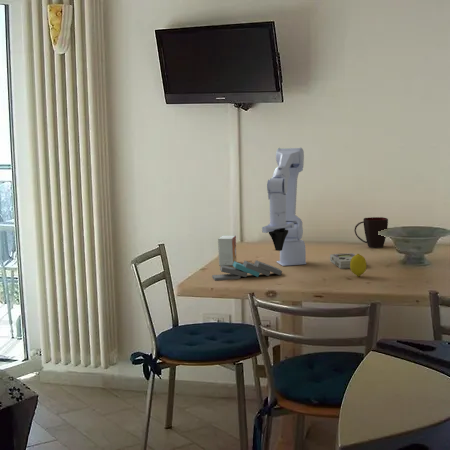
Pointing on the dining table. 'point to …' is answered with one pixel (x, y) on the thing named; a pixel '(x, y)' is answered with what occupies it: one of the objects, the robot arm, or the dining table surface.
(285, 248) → the robot arm
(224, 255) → the small box
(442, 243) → the dining table surface
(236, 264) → the teal domino
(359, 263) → the lemon
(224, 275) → the domino
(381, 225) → the cup
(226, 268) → the domino
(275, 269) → the domino
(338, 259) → the handheld gaming console
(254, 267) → the domino
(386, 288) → the dining table surface
